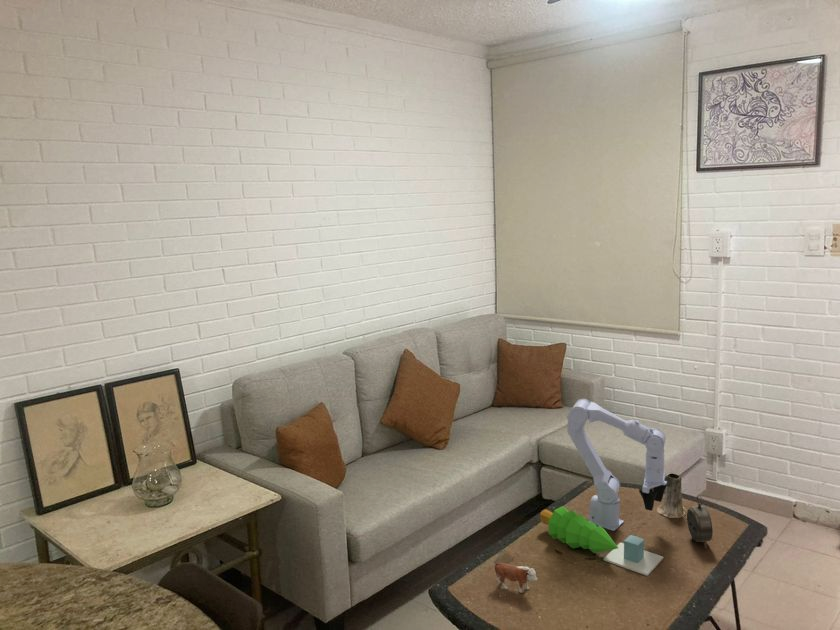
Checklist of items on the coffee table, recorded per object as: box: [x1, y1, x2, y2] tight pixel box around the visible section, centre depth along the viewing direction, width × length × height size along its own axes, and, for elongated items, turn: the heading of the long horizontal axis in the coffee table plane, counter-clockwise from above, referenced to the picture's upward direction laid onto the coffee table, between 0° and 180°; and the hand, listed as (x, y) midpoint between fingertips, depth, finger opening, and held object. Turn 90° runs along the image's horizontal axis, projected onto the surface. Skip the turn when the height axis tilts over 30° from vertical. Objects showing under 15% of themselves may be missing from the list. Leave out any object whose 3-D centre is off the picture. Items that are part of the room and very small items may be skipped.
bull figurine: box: [494, 562, 538, 594], centre depth 194 cm, size 4×13×8 cm, turn 58°
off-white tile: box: [603, 542, 664, 577], centre depth 207 cm, size 14×12×1 cm
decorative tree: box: [539, 505, 618, 554], centre depth 214 cm, size 11×12×30 cm
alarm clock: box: [686, 494, 714, 550], centre depth 214 cm, size 11×5×16 cm, turn 178°
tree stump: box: [656, 473, 688, 519], centre depth 235 cm, size 10×10×13 cm
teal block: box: [623, 534, 645, 563], centre depth 207 cm, size 4×4×6 cm
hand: (653, 505), depth 222 cm, fingers open, 7 cm apart
